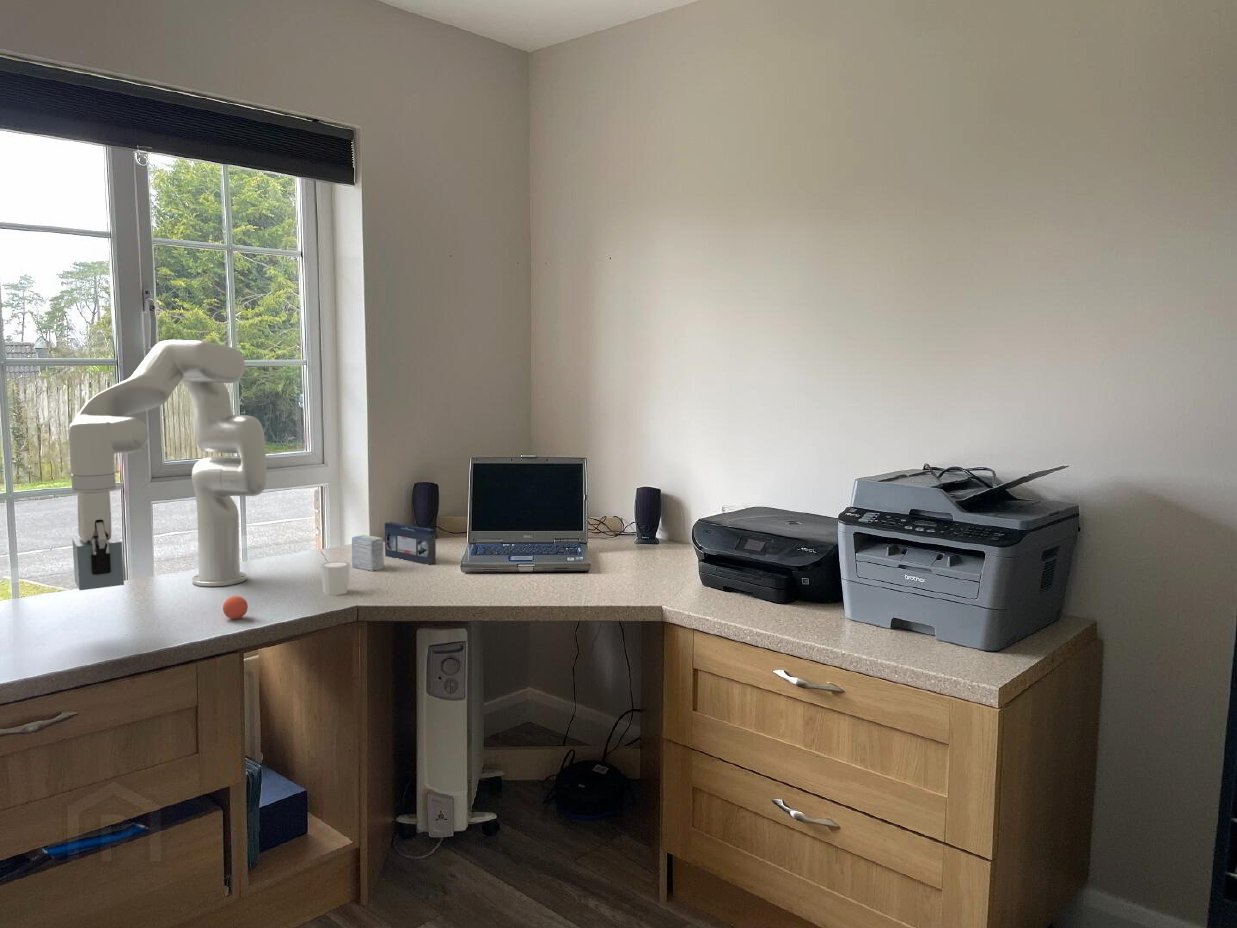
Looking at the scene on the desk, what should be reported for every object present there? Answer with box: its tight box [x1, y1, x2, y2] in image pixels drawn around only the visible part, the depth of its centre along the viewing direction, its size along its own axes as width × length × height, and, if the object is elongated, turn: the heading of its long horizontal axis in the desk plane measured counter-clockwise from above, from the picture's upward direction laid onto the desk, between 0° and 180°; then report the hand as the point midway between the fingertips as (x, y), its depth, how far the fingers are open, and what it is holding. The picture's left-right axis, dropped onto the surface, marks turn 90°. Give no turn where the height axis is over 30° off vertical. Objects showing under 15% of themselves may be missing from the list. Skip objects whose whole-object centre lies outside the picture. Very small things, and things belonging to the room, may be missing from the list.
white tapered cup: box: [320, 561, 351, 596], centre depth 221 cm, size 7×7×7 cm
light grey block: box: [351, 534, 385, 572], centre depth 246 cm, size 8×4×9 cm, turn 58°
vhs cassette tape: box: [384, 521, 437, 566], centre depth 258 cm, size 18×3×10 cm, turn 55°
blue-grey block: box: [72, 534, 125, 591], centre depth 180 cm, size 8×8×9 cm
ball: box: [222, 595, 249, 620], centre depth 197 cm, size 5×5×5 cm
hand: (98, 568), depth 181 cm, fingers closed on blue-grey block, 7 cm apart
